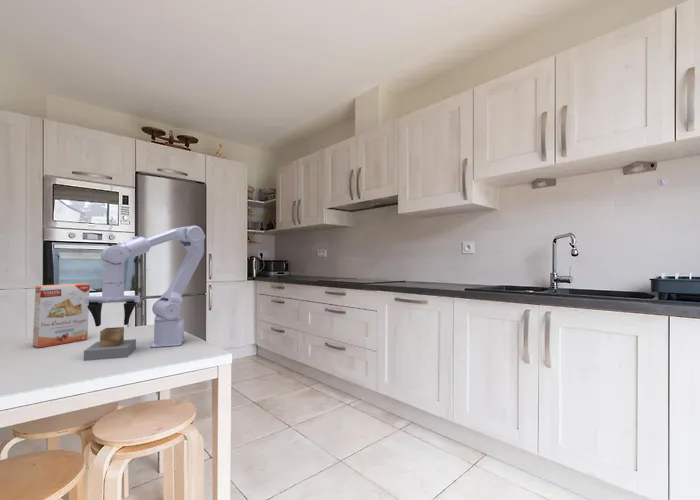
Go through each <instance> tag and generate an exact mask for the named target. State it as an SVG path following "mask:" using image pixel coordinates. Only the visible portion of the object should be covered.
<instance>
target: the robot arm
mask: <svg viewBox="0 0 700 500" xmlns="http://www.w3.org/2000/svg"><path fill="white" fill-rule="evenodd" d="M205 239H206V234H205V233H204V230H203V229H202V228H201V227H200V226H198V225H190V226H181V227H177V228H171V229H167V230H166V231H163V232H161V233H158V234H156V235H153V236H150V237H147V238H146V237H143V236H138V235H135V236H132V237H131V239H130V240H129V239H128V240H126V241H122V242H121V241H119V242H116V245H110V246H107V247H105V248H104V249H103V250H102V251H101V254H100V259H101V260H102V261H103V265H102V287H101V292H102V293H101V296H100V295H99V296H98V295H97V296H89V297H85V304H89V305H88V306H87V307H88V309H89V312H90V314H91V316H92V317H93V321H94V324H95V327H99V326H101V324H102V308H103V304H110V303H115V304H116V303H123V311H124V316H123V317H124V318H123V325H124V326H127V325H129V323H130V318H131V315H132V312H133V310H134V309H135V307H136V305H137V303H139V302H140V301H141V299H140V298H141V296H140V295H125V262H126V261H127V260H130V259H132V258H135V257H138V256H141V255H143V254H146V253H148V252H149V251H150V250H151V247H154V246H157V245H161V244H164V243H168V242H170V241H179V242H180V243H181V245H182V246H183V247H184V248H185V251H186V255H185V256H184V258H183V260H182V262H181V264H180V265H179V267H178V270H177V271H176V273H175V275H174V277H173V279H172V281H171V283H170V285H169V286H168V288H167V290H166V291H165V292H163V294H161V296H160V298H158V300H156V301H154V304H153V305H152V309H151V310H152V312H153V314H154V315H155V316H154V322H153V323H154V324H153V325H154V327H153V329H154V330H153V342H152V344H151V345H150V348H159V347H161V348H163V347H174V346H176V347H177V346H181V345H182V343H183V342H184V341H185V334H184V333H185V320H184V318H178V317H179V315H180V313H181V307H182V303H183V294H184V293H185V290H186V289H187V286H189V283H190V281H191V279H192V277H193V275H194V273H195V271H196V270H197V268H198V266H199V263H200V262H201V260H202V258H203V257H204V254H205Z"/></svg>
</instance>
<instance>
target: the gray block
mask: <svg viewBox="0 0 700 500" xmlns="http://www.w3.org/2000/svg"><path fill="white" fill-rule="evenodd" d="M135 349H137V339H136V338H135V339H124V342H123V343H122V344H121V345H119V346H113V347H100V340H99V341H96V342H95V343H94V344H92V345H90V346H89V347H87V348H86V349H84V350H83V362H86V361H88V362H89V361H99V360H101V359H102V360H110V359H111V360H113V359H123V358H124V359H126V358H128V357H129V356H130V354H132V353H133V352H134V351H135Z"/></svg>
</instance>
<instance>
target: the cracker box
mask: <svg viewBox="0 0 700 500" xmlns="http://www.w3.org/2000/svg"><path fill="white" fill-rule="evenodd" d="M90 286H91V285H90V284H89V283H62V284H61V283H60V284H44V285H41V284H40V285H35V287H34V288H35V289H34V290H35V291H34V307H33V309H34V311H33V315H34V316H33V329H32V330H33V331H32V346H34V347H36V348H37V349H41V348H46V347H51V346H57V345H58V346H59V345H63V344H70V343H75V342H81V341H82V342H83V341H87V340H88V334H89V333H88V331H89V312H90V310H89V309H88V307H87V306H88V305H89V304H85V297H90Z"/></svg>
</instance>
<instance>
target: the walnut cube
mask: <svg viewBox="0 0 700 500" xmlns="http://www.w3.org/2000/svg"><path fill="white" fill-rule="evenodd" d="M124 338H125V326H119V327H118V326H117V327H116V326H115V327H105V328H104V329H103V328H102V330H100V331H99V341H100V347H113V346H119V345H121V344H122V343H123V342H124V340H125V339H124Z"/></svg>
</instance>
